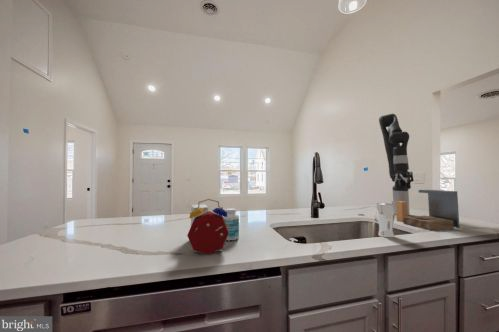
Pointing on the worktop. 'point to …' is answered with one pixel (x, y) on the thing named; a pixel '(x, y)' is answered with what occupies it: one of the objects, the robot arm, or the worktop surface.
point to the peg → (401, 210)
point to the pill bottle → (232, 224)
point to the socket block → (428, 222)
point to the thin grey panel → (443, 205)
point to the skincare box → (198, 208)
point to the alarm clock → (208, 230)
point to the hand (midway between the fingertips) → (402, 188)
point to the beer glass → (385, 219)
